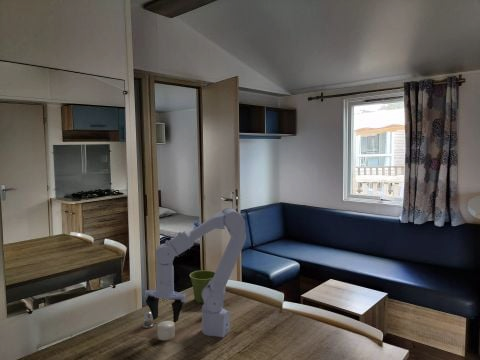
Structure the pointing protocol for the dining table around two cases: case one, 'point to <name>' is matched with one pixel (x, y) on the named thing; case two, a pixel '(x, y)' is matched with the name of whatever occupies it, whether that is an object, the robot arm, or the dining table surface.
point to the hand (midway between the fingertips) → (165, 319)
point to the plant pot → (200, 282)
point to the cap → (166, 330)
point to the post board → (150, 329)
